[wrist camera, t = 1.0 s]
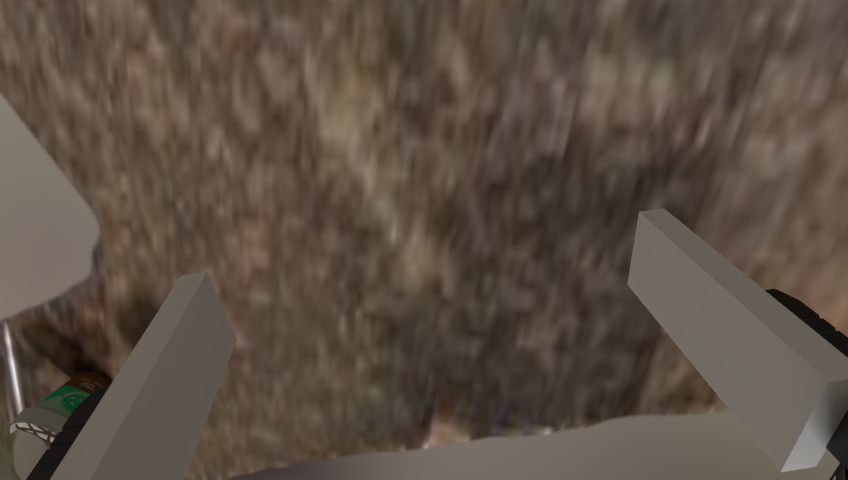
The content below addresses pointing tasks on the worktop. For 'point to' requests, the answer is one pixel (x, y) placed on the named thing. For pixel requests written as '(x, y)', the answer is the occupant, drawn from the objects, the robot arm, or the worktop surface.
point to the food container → (58, 406)
